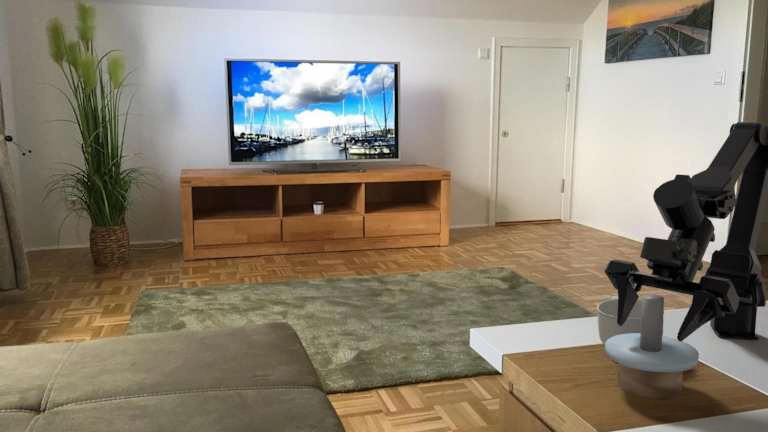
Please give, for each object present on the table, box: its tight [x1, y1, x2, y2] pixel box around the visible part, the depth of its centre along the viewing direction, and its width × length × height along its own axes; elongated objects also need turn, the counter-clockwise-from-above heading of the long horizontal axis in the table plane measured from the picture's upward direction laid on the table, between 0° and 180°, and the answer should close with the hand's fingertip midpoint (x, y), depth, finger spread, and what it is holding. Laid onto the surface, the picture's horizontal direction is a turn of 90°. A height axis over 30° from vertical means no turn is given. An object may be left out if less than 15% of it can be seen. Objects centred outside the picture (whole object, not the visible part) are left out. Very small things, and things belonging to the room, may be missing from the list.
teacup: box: [596, 295, 665, 346], centre depth 112 cm, size 14×11×8 cm
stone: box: [617, 363, 684, 400], centre depth 97 cm, size 9×9×5 cm
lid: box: [604, 293, 699, 372], centre depth 95 cm, size 13×13×9 cm
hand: (647, 332), depth 95 cm, fingers open, 9 cm apart
